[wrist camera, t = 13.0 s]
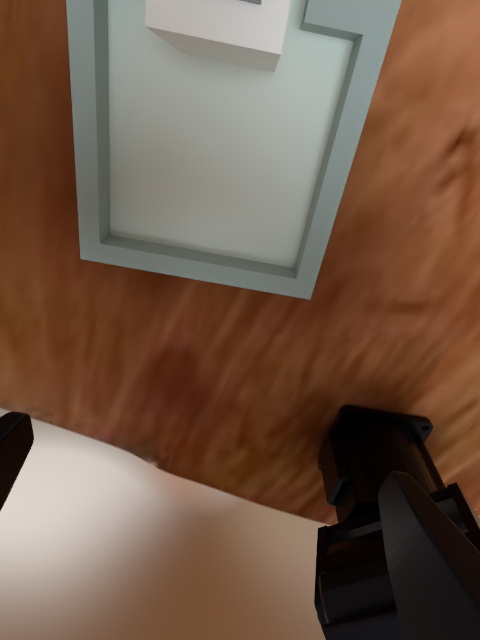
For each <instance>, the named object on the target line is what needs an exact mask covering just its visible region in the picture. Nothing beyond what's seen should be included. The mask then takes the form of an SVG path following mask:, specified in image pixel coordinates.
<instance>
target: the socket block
mask: <svg viewBox="0 0 480 640" xmlns="http://www.w3.org/2000/svg"><path fill="white" fill-rule="evenodd" d="M290 4H291V0H145V27H146V28H148V29H149V30H151V31H152V32H153V33H155V34H156V35H157V36H159V37H160V38H161V39H163V40H164V41H165V42H167V43H168V44H170V45H171V46H172V47H174V48H175V49H176V50H178V51H179V52H180V53H184V54H189V55H194V56H199V57H204V58H208V59H213V60H218V61H223V62H228V63H233V64H238V65H242V66H247V67H252V68H257V69H262V70H267V71H272V72H275V69H276V66H277V64H278V61H279V59H280V56H281V52H282V47H283V41H284V36H285V31H286V25H287V20H288V14H289V9H290Z"/></svg>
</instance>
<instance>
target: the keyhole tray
mask: <svg viewBox="0 0 480 640" xmlns="http://www.w3.org/2000/svg"><path fill="white" fill-rule="evenodd" d="M401 1H402V0H291V4H290V9H289V14H288V20H287V25H286V31H285V36H284V41H283V47H282V52H281V56H280V59H279V61H278V64H277V66H276V69H275V72H272V71H267V70H262V69H257V68H252V67H247V66H242V65H238V64H233V63H228V62H223V61H218V60H213V59H208V58H204V57H199V56H194V55H189V54H184V53H180V52H179V51H178V50H176V49H175V48H174V47H172V46H171V45H170V44H168V43H167V42H165V41H164V40H163V39H161V38H160V37H159V36H157V35H156V34H155V33H153V32H152V31H151V30H149V29H148V28H146V27H145V0H66V6H67V24H68V42H69V60H70V78H71V97H72V115H73V133H74V151H75V169H76V187H77V205H78V224H79V242H80V259H83V260H89V261H94V262H100V263H106V264H111V265H117V266H123V267H128V268H134V269H140V270H145V271H151V272H156V273H162V274H168V275H173V276H179V277H185V278H190V279H196V280H202V281H207V282H213V283H218V284H224V285H230V286H235V287H241V288H247V289H252V290H258V291H264V292H269V293H275V294H280V295H286V296H292V297H297V298H303V299H309V300H310V299H311V296H312V293H313V289H314V286H315V283H316V280H317V276H318V273H319V270H320V266H321V263H322V260H323V257H324V253H325V250H326V247H327V244H328V240H329V237H330V234H331V230H332V227H333V224H334V221H335V217H336V214H337V211H338V207H339V204H340V201H341V198H342V194H343V191H344V188H345V185H346V181H347V178H348V175H349V171H350V168H351V165H352V162H353V158H354V155H355V152H356V149H357V145H358V142H359V139H360V135H361V132H362V129H363V126H364V122H365V119H366V116H367V112H368V109H369V106H370V103H371V99H372V96H373V93H374V90H375V86H376V83H377V80H378V76H379V73H380V70H381V67H382V63H383V60H384V57H385V54H386V50H387V47H388V44H389V40H390V37H391V34H392V31H393V27H394V24H395V21H396V17H397V14H398V11H399V8H400V4H401Z"/></svg>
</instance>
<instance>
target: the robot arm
mask: <svg viewBox="0 0 480 640" xmlns="http://www.w3.org/2000/svg"><path fill="white" fill-rule="evenodd" d="M346 413H349V414H346ZM432 429H433V425H432V423H431V422H430V420H428V419H424V418H418V417H412V416H406V415H400V414H394V413H388V412H382V411H376V410H369V409H363V408H357V407H351V406H345V407H343V408H341V410H340V412H339V414H338V417H337V419H336V421H335V424H334V426H333V428H332V430H330V431H329V432H328V434H327V436H326V438H325V441H324V443H323V445H322V448H321V450H320V453H319V458H320V459H319V461H318V467H319V470H321V471H322V475H323V481H324V487H325V492H326V498H327V502H328V504H329V505H330V506H334V507H335V508H336V514H337V519H338V524H335V525H332V526H328V527H327V526H324V527H321V528H318V539H317V557H316V578H315V599H314V600H315V601H314V603H315V608H316V611H317V615H318V620H319V622H320V624H321V627H322V630H323V633H324V635H325V638H326V640H480V519H479V517H478V516H477V514H476V512H475V511H474V509H473V508H472V506H471V504H470V503H469V501H468V500H467V498H466V496H465V495H464V493H463V492H462V490H461V488H460V487H459V485H458V484H457V482H456V483H453V484H450V485H447V486H448V487H447V488H446V487H445V485H444V483H443V481H442V479H441V477H440V475H439V473H438V471H437V469H436V467H435V465H434V463H433V461H432V459H431V457H430V455H429V452H428V450H427V448H426V446H425V444H424V442H425V440H426V439H427V437H428V436H429V434H430V432H431V431H432ZM33 440H34V435H33V429H32V424H31V418H30V416H29V415H28V414H26V413H21V412H9V413H7V414H5V415H3V416H2V417H0V510H1V509H2V507H3V505H4V503H5V501H6V499H7V497H8V495H9V493H10V491H11V489H12V487H13V484H14V482H15V480H16V478H17V476H18V474H19V472H20V470H21V468H22V466H23V464H24V462H25V459H26V457H27V455H28V453H29V451H30V449H31V447H32V444H33Z"/></svg>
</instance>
